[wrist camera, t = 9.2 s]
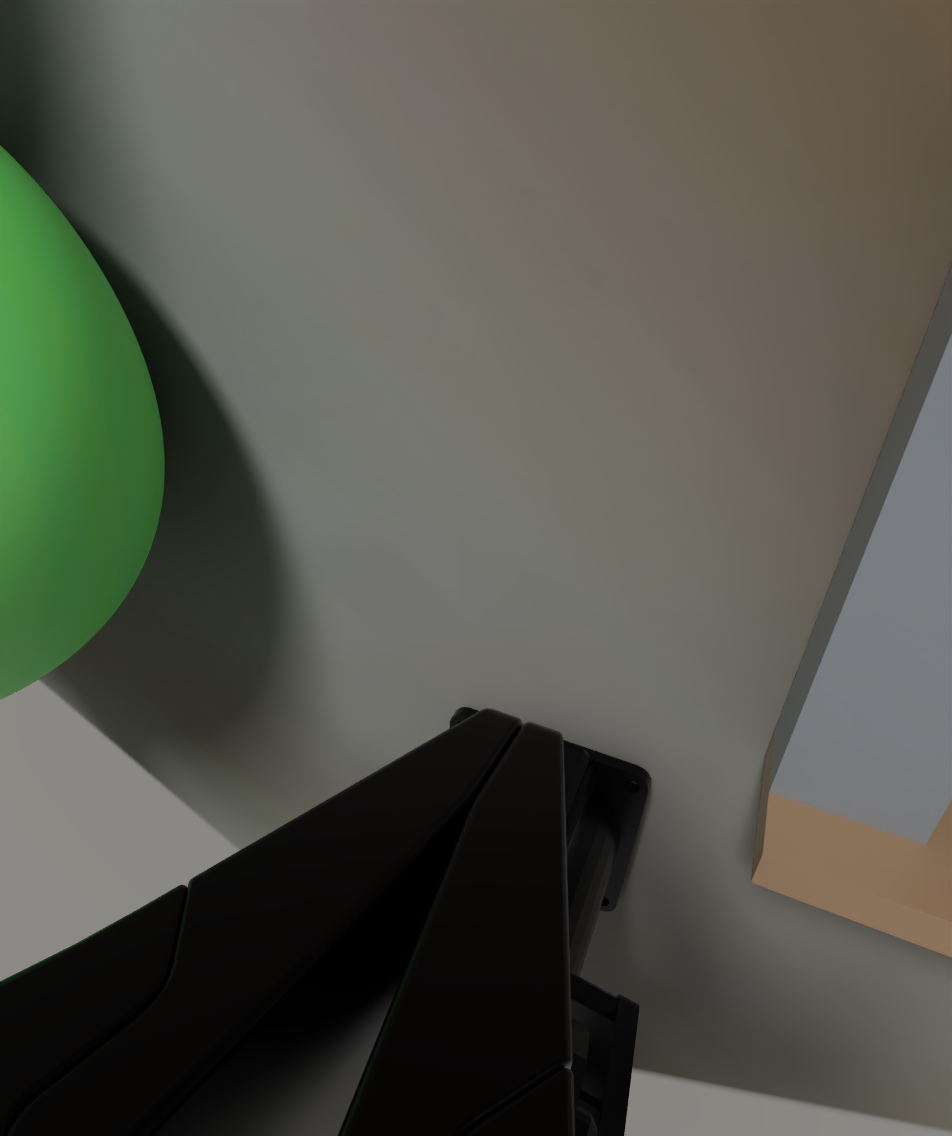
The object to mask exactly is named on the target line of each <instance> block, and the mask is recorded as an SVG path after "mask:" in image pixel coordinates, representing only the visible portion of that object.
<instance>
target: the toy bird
mask: <svg viewBox="0 0 952 1136" xmlns="http://www.w3.org/2000/svg"><path fill="white" fill-rule="evenodd" d="M164 477H165V458H164V443H163V433H162V426H161V420H160V414H159V409H158V405H157V400H156V396H155V392H154V388H153V385H152V381H151V378H150V375H149V372H148V369H147V366H146V363H145V360H144V357H143V354H142V352H141V349H140V347H139V344H138V342H137V339H136V337H135V334H134V332H133V330H132V328H131V325H130V323H129V321H128V319H127V317H126V315H125V313H124V311H123V309H122V307H121V305H120V303H119V301H118V299H117V297H116V295H115V293H114V291H113V290H112V288H111V286H110V284H109V282H108V281H107V279H106V277H105V276H104V274H103V272H102V271H101V269H100V267H99V266H98V264H97V262H96V261H95V259H94V258H93V256H92V255H91V253H90V252H89V250H88V248H87V247H86V245H85V244H84V243H83V241H82V240H81V238H80V237H79V235H78V234H77V233H76V231H75V230H74V228H73V227H72V226H71V224H70V223H69V222H68V220H67V219H66V218H65V216H64V215H63V214H62V212H61V211H60V210H59V209H58V207H57V206H56V205H55V204H54V202H53V201H52V200H51V199H50V198H49V196H48V195H47V194H46V193H45V192H44V191H43V189H42V188H41V187H40V186H39V185H38V184H37V183H36V181H35V180H34V179H33V178H32V177H31V176H30V175H29V174H28V173H27V172H26V171H25V169H24V168H23V167H22V166H21V165H20V164H19V163H18V162H17V161H16V160H15V159H14V158H13V157H12V156H11V155H10V154H9V153H8V152H7V151H6V150H5V149H4V148H3V147H2V146H1V145H0V699H2V698H4V697H7V696H9V695H11V694H13V693H14V692H17V691H19V690H21V689H23V688H24V687H26V686H28V685H30V684H32V683H33V682H35V681H37V680H38V679H40V678H42V677H43V676H45V675H46V674H48V673H49V672H51V671H52V670H54V669H55V668H57V667H58V666H59V665H61V664H62V663H63V662H65V661H66V660H67V659H69V658H70V657H71V656H72V655H73V654H75V653H76V652H77V651H78V650H79V649H81V648H82V647H83V646H84V645H85V644H86V643H87V642H88V641H89V640H90V639H91V638H92V637H93V636H94V635H95V634H96V633H97V632H98V631H99V630H100V629H101V628H102V627H103V626H104V625H105V624H106V622H107V621H108V620H109V619H110V618H111V617H112V615H113V614H114V613H115V611H116V610H117V609H118V608H119V606H120V605H121V603H122V602H123V601H124V599H125V598H126V596H127V595H128V593H129V592H130V590H131V588H132V587H133V585H134V583H135V581H136V580H137V578H138V576H139V574H140V572H141V570H142V568H143V566H144V564H145V561H146V559H147V557H148V554H149V552H150V549H151V546H152V543H153V540H154V537H155V534H156V530H157V526H158V522H159V518H160V513H161V507H162V501H163V492H164Z"/></svg>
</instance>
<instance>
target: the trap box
mask: <svg viewBox="0 0 952 1136" xmlns="http://www.w3.org/2000/svg"><path fill="white" fill-rule="evenodd" d="M751 883H754V884H756V885H759V886H762V887H764V888H767V889H770V890H772V891H775V892H778V893H780V894H783V895H786V896H788V897H791V898H794V899H796V900H799V901H802V902H804V903H807V904H810V905H812V906H815V907H818V908H820V909H823V910H826V911H828V912H831V913H834V914H837V915H839V916H842V917H845V918H847V919H850V920H853V921H855V922H858V923H861V924H863V925H866V926H869V927H871V928H874V929H877V930H879V931H882V932H885V933H887V934H890V935H893V936H895V937H898V938H901V939H903V940H906V941H909V942H911V943H914V944H917V945H919V946H922V947H925V948H928V949H930V950H933V951H936V952H938V953H941V954H944V955H946V956H949V957H952V266H951V269H950V272H949V274H948V277H947V280H946V282H945V285H944V287H943V290H942V293H941V295H940V298H939V301H938V303H937V306H936V308H935V311H934V314H933V316H932V319H931V322H930V324H929V327H928V329H927V332H926V335H925V337H924V340H923V343H922V345H921V348H920V350H919V353H918V356H917V358H916V361H915V364H914V366H913V369H912V371H911V374H910V377H909V379H908V382H907V385H906V387H905V390H904V392H903V395H902V398H901V400H900V403H899V406H898V408H897V411H896V413H895V416H894V419H893V421H892V424H891V427H890V429H889V432H888V434H887V437H886V440H885V442H884V445H883V448H882V450H881V453H880V455H879V458H878V461H877V463H876V466H875V469H874V471H873V474H872V476H871V479H870V482H869V484H868V487H867V490H866V492H865V495H864V497H863V500H862V503H861V505H860V508H859V511H858V513H857V516H856V518H855V521H854V524H853V526H852V529H851V532H850V534H849V537H848V539H847V542H846V545H845V547H844V550H843V553H842V555H841V558H840V560H839V563H838V566H837V568H836V571H835V574H834V576H833V579H832V581H831V584H830V587H829V589H828V592H827V595H826V597H825V600H824V602H823V605H822V608H821V610H820V613H819V616H818V618H817V621H816V623H815V626H814V629H813V631H812V634H811V637H810V639H809V642H808V644H807V647H806V650H805V652H804V655H803V658H802V660H801V663H800V665H799V668H798V671H797V673H796V676H795V679H794V681H793V684H792V686H791V689H790V692H789V694H788V697H787V700H786V702H785V705H784V707H783V710H782V713H781V715H780V718H779V721H778V723H777V726H776V728H775V731H774V734H773V736H772V739H771V742H770V744H769V747H768V749H767V752H766V755H765V762H764V771H763V780H762V789H761V798H760V806H759V815H758V824H757V833H756V842H755V850H754V859H753V868H752V877H751Z"/></svg>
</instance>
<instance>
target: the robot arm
mask: <svg viewBox="0 0 952 1136" xmlns="http://www.w3.org/2000/svg"><path fill="white" fill-rule="evenodd" d="M628 780H634V781H635V782H637V783H638V784H634V783H631V782H630V781H628ZM650 783H651V778H650V776H649V774H648V772H646V771H645V770H644V769H643V768H641V767H639V766H637V765H634V764H631V763H629V762H626V761H623V760H620V759H617V758H614V757H611V756H608V755H605V754H602V753H599V752H597V751H594V750H591V749H588V748H585V747H582V746H579V745H576V744H573V743H570V742H568V741H565V740H563V736H562V734H561V733H560V732H558V731H555V730H552V729H549V728H547V727H544V726H541V725H538V724H535V723H532V722H528V723H525V724H523V723H522V721H521V720H520V719H519V718H517V717H514V716H511V715H508V714H505V713H503V712H500V711H497V710H494V709H488V708H487V709H483V710H481V711H477V710H474V709H472V708H467V707H462V708H459V709H458V710H457V711H456V712H455V714H454V715H453V717H452V718H451V721H450V729H448V730H446V731H445V732H443V733H441V734H439V735H438V736H436V737H434V738H433V739H431V740H429V741H427V742H426V743H424V744H422V745H421V746H419V747H417V748H415V749H414V750H412V751H410V752H408V753H407V754H405V755H403V756H402V757H400V758H398V759H396V760H395V761H393V762H391V763H390V764H388V765H386V766H384V767H383V768H381V769H379V770H378V771H376V772H374V773H372V774H371V775H369V776H367V777H366V778H364V779H362V780H360V781H359V782H357V783H355V784H353V785H352V786H350V787H348V788H347V789H345V790H343V791H341V792H340V793H338V794H336V795H335V796H333V797H331V798H329V799H328V800H326V801H324V802H323V803H321V804H319V805H317V806H316V807H314V808H312V809H311V810H309V811H307V812H305V813H304V814H302V815H300V816H298V817H297V818H295V819H293V820H292V821H290V822H288V823H286V824H285V825H283V826H281V827H280V828H278V829H276V830H274V831H273V832H271V833H269V834H268V835H266V836H264V837H262V838H261V839H259V840H257V841H256V842H254V843H252V844H250V845H249V846H247V847H245V848H243V849H242V850H240V851H238V852H237V853H235V854H233V855H231V856H230V857H228V858H226V859H225V860H223V861H221V862H219V863H218V864H216V865H214V866H213V867H211V868H209V869H207V870H206V871H204V872H203V873H201V874H199V875H197V876H195V877H194V878H192V879H191V880H190V881H189V884H188V888H187V887H186V886H185V885H180V886H178V887H176V888H174V889H172V890H171V891H169V892H167V893H166V894H164V895H162V896H161V897H159V898H157V899H155V900H153V901H152V902H150V903H148V904H147V905H145V906H143V907H141V908H140V909H138V910H136V911H134V912H132V913H131V914H129V915H127V916H125V917H123V918H122V919H120V920H118V921H116V922H114V923H113V924H111V925H109V926H107V927H105V928H103V929H102V930H100V931H98V932H96V933H94V934H93V935H91V936H89V937H88V938H85V939H83V940H82V941H80V942H78V943H76V944H75V945H72V946H71V947H69V948H66V949H64V950H63V951H60V952H58V953H57V954H54V955H52V956H50V957H48V958H46V959H44V960H42V961H40V962H39V963H37V964H35V965H32V966H30V967H29V968H26V969H24V970H22V971H20V972H18V973H16V974H14V975H12V976H10V977H8V978H6V979H4V980H3V981H0V1136H624V1132H625V1123H626V1115H627V1107H628V1098H629V1089H630V1081H631V1073H632V1065H633V1056H634V1048H635V1039H636V1031H637V1023H638V1014H639V1004H637V1003H635V1002H633V1001H631V1000H629V999H627V998H625V997H624V996H622V995H620V994H619V995H618V996H617V997H616V996H614V995H612V994H610V993H608V992H606V991H605V990H603V989H601V988H599V987H597V986H595V985H593V984H591V983H590V982H588V981H586V980H584V979H582V978H580V977H579V975H580V972H581V969H582V966H583V962H584V959H585V956H586V953H587V949H588V946H589V943H590V940H591V936H592V933H593V930H594V927H595V923H596V920H597V917H598V914H599V910H602V911H612V910H614V909H615V907H616V905H617V901H618V898H619V894H620V891H621V887H622V883H623V880H624V876H625V873H626V869H627V866H628V862H629V858H630V855H631V851H632V848H633V844H634V841H635V837H636V833H637V830H638V826H639V823H640V819H641V815H642V812H643V808H644V805H645V801H646V798H647V794H648V790H649V787H650Z"/></svg>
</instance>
